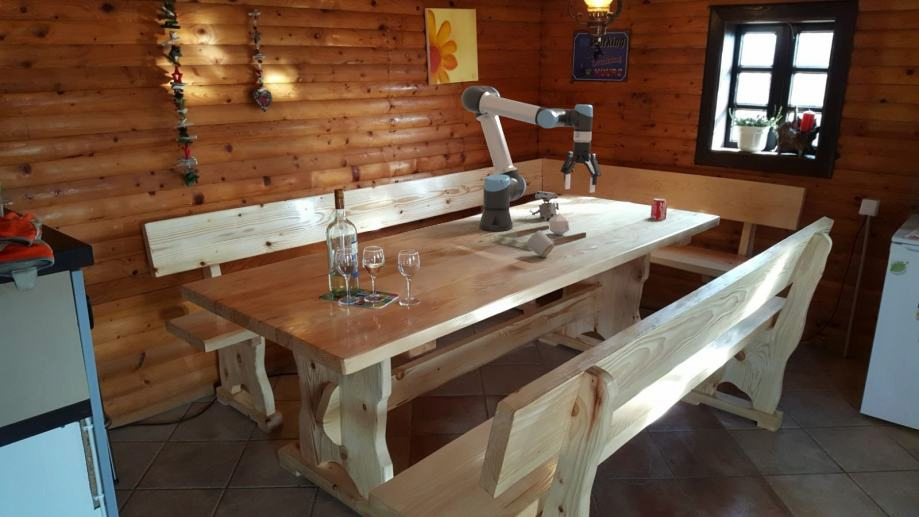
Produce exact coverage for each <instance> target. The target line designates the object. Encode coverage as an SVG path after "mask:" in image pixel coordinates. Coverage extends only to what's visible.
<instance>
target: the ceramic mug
mask: <svg viewBox="0 0 919 517" xmlns="http://www.w3.org/2000/svg"><path fill="white" fill-rule="evenodd" d="M526 242H527V246H528V247H529V248H530V249H532V250H531V251H533V252H534V253H535V254H536V255H538V257H541V258H545V257H547V256H548V255H549V254H550V253H552V251H553V249H554V247H555V246H554V243H553V242H552V240H551V238H549V237H548V236H547V235H546V234H545V233H544V232H543V231H540V230H539V231H537V232H536V233H532V234H531V236H530V238H529V239H528V240H527V241H526Z"/></svg>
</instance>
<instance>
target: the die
mask: <svg viewBox="0 0 919 517" xmlns="http://www.w3.org/2000/svg"><path fill="white" fill-rule="evenodd" d="M569 221H570V220H569V218H567V217H566V216H565V215H564V214H562V213H560V212H559V213H558V214H557V215H556V216H554V217H552V218H548V222H549V231H550V232H552V233H553V234H555V235H557V236H562V235H564V234H566V233H568V232H569V231H570V223H569Z"/></svg>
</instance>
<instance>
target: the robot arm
mask: <svg viewBox="0 0 919 517" xmlns="http://www.w3.org/2000/svg"><path fill="white" fill-rule="evenodd" d="M461 104H462V106H463V108H464V109H465V110H466V111H468V112H470V113H474V116H475V119H476V120H477V121H478V122H480V124H481V125H480V126H481V128H482V132H483V135H484V137H485V138H484V139H485V142H486V144H487V148H488V151H489V154H490V158H491V160H492V165H493V168H494V171H495V172H494V174H492V175H491V174H490V175H488V176H486V177H485V178H484V181H483V188H482V189H483V210H482V214H481V217H480V220H479V223H478V224H479V226H478V227H479V228H478V229H481V230H483V231H492V232H493V231H494V232H503V231H509V230H512V229H513V227H514V223H513V221H512V217H511V213H510V202H512V201H516V200H518V199H520V198H522V197H523V196H524V194H525V192H526V189H527V183H526V180H525V178H524V177H523V176H521V175H520V173H519V169H518V168H517V167H516V166H514V164H513V161H512V158H511V153H510V151H509V147H508V144H507V141H506V138H505V137H506V136H505V134H504V131H503V128H502V124H501V121H500V117H499V116H501V117H505V118H509V119H513V120H516V121H521V122H525V123H529V124H533V125H537V126H540V127H542V128H543V129H552V128H558V127H562V128H563V127H565V128H567V127H568V128H573V143H572V144H573V145H572V150H573V151H567V154H566V157H565V160H564V162H563V164H562V166H561V169H560V173H563V181H564V190H570V189H571V176H572V175H571V174H570V173H571V172H572V170H573V169H574V168H575V166H576V165H577V164H583V165H585V167H586V168H587V170H588V172H589V174H590V176H591V177H590V180H589V193H590V194H591V193H595V191H596V186H597V184H598V183H597V182H598V180H597V179H598V177H601V176H602V173H601V169H600V167H599V162H598V160H597V153H591V148H592V143H591V141H592V131H593V130H592V129H593V117H594V114H593V112H594V110H593V109H594V107H593V105H592V104H576V105H575V106H574V108H573V109H572V108H571V109H569V108H548V107H542V106H539V105H534V104H530V103H527V102H525V103H524V102H521V101H517V100H513V99H508V98H504V97H501V95H500V93H499V91H498V90H497V89H496V88H494V87H492V86H489V85H471V86H468V87H467V88H465V90H464V91H463V92H462V95H461Z"/></svg>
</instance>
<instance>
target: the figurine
mask: <svg viewBox="0 0 919 517" xmlns="http://www.w3.org/2000/svg"><path fill="white" fill-rule="evenodd" d="M534 198H535V199H538V200H542V201H543V202H542V203H541V204H539V205H538V209H537V210H535V211H532V210H530V213H531V215H532V216H535V215H537V214H539V221H542V222H548V219H550V218H552V217H554V216H556V215H558V214H557V211H559V210H560V206H559V202H557V201H554V202H550V201H551V200H556V199H558V198H559V195H558V194H557V193H556V192H551V191H543V190H537V191H536V192H535V195H534Z"/></svg>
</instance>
